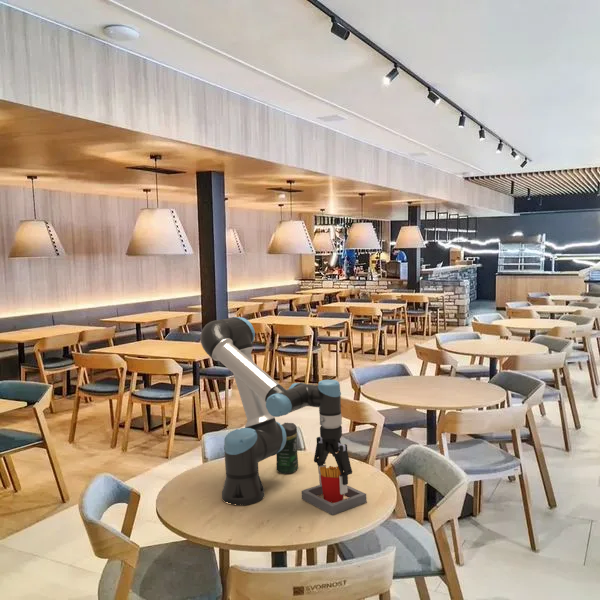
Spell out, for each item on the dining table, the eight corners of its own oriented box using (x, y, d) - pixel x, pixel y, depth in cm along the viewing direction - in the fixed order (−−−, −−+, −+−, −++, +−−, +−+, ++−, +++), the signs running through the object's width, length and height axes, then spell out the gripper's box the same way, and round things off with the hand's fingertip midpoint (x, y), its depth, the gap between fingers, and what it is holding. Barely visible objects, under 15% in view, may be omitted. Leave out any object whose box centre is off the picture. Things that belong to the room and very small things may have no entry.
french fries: (345, 499, 201) (344, 465, 200) (343, 503, 197) (341, 469, 197) (322, 496, 204) (321, 463, 203) (319, 501, 200) (317, 467, 199)
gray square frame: (301, 499, 203) (301, 490, 202) (334, 487, 211) (334, 479, 211) (332, 515, 189) (332, 506, 189) (366, 502, 198) (366, 493, 197)
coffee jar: (293, 475, 226) (291, 428, 224) (274, 473, 228) (272, 427, 227) (301, 466, 235) (299, 421, 233) (282, 465, 237) (280, 420, 236)
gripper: (302, 421, 205) (304, 481, 207) (344, 435, 187) (346, 501, 188) (318, 416, 210) (321, 476, 211) (361, 430, 191) (363, 495, 193)
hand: (333, 488), depth 200 cm, fingers open, 10 cm apart
